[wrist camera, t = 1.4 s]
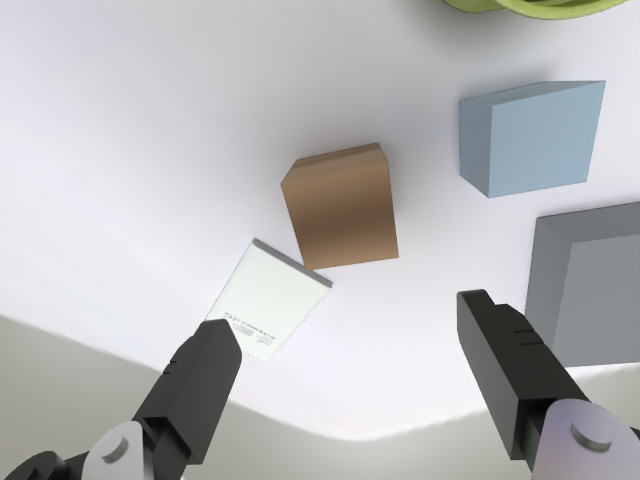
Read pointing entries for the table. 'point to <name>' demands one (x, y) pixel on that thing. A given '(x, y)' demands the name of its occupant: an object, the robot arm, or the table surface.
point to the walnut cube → (342, 207)
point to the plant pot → (538, 7)
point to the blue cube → (529, 136)
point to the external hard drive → (268, 300)
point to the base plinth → (587, 285)
